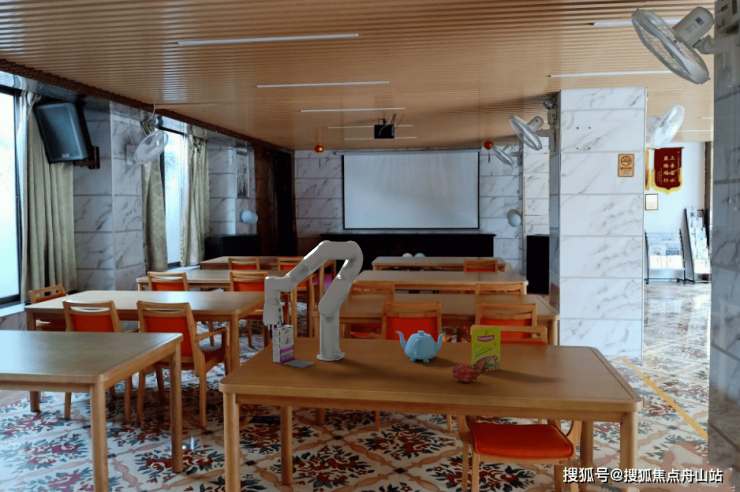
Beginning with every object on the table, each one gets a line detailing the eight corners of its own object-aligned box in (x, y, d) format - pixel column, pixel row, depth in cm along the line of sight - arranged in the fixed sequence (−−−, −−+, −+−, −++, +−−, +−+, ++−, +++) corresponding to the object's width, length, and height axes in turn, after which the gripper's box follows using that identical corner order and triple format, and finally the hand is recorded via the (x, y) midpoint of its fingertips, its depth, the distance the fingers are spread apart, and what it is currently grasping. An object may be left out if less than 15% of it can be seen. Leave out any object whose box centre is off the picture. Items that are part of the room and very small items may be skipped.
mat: (314, 363, 283) (314, 363, 283) (302, 367, 276) (302, 367, 276) (295, 360, 290) (295, 359, 290) (283, 364, 283) (283, 363, 283)
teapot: (445, 361, 288) (445, 333, 287) (409, 365, 281) (409, 336, 280) (430, 354, 303) (430, 326, 302) (395, 357, 296) (395, 329, 295)
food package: (471, 372, 268) (472, 329, 267) (470, 372, 269) (471, 328, 268) (500, 369, 274) (501, 326, 272) (499, 368, 275) (499, 326, 273)
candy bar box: (286, 357, 296) (286, 324, 295) (294, 358, 294) (294, 325, 293) (272, 362, 286) (271, 328, 285) (280, 363, 284) (279, 329, 283)
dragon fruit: (450, 383, 257) (477, 390, 253) (448, 376, 250) (476, 383, 246) (454, 365, 261) (481, 371, 257) (453, 357, 254) (481, 364, 250)
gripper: (288, 301, 291) (289, 338, 292) (267, 299, 300) (267, 334, 301) (278, 303, 285) (278, 341, 286) (256, 300, 293) (256, 337, 295)
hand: (272, 337), depth 293 cm, fingers closed
